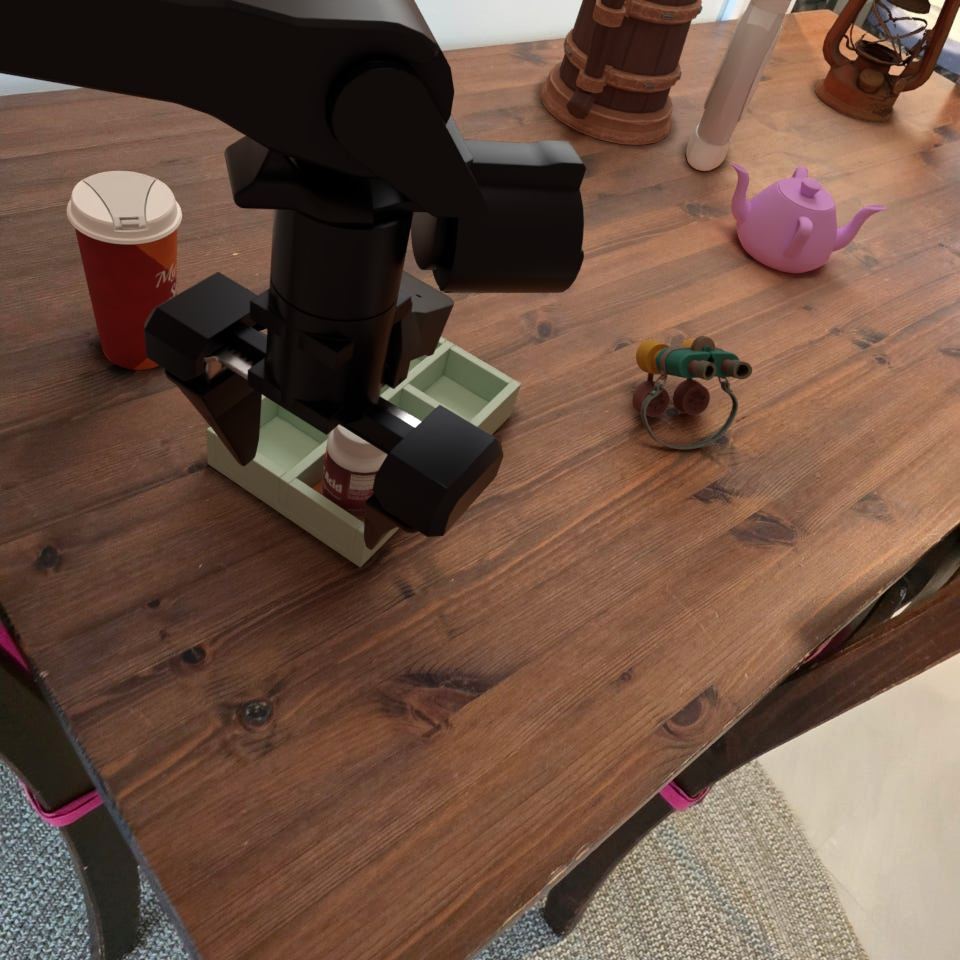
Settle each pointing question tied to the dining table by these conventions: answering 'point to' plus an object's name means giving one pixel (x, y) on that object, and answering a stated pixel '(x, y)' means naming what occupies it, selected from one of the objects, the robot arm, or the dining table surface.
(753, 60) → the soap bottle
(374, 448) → the pill bottle
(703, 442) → the binoculars
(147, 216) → the paper cup
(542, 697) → the dining table surface
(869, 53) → the lantern
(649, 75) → the mug
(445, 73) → the robot arm
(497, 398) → the divided tray
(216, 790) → the dining table surface
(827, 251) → the teapot
